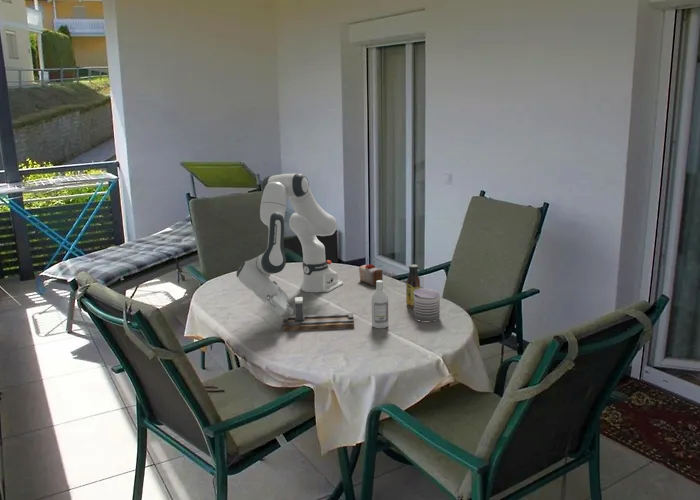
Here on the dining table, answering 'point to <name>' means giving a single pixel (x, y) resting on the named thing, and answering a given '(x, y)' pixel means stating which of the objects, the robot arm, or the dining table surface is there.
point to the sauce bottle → (412, 285)
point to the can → (426, 304)
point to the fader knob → (299, 309)
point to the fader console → (319, 322)
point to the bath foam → (379, 306)
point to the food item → (370, 274)
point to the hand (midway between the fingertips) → (292, 312)
